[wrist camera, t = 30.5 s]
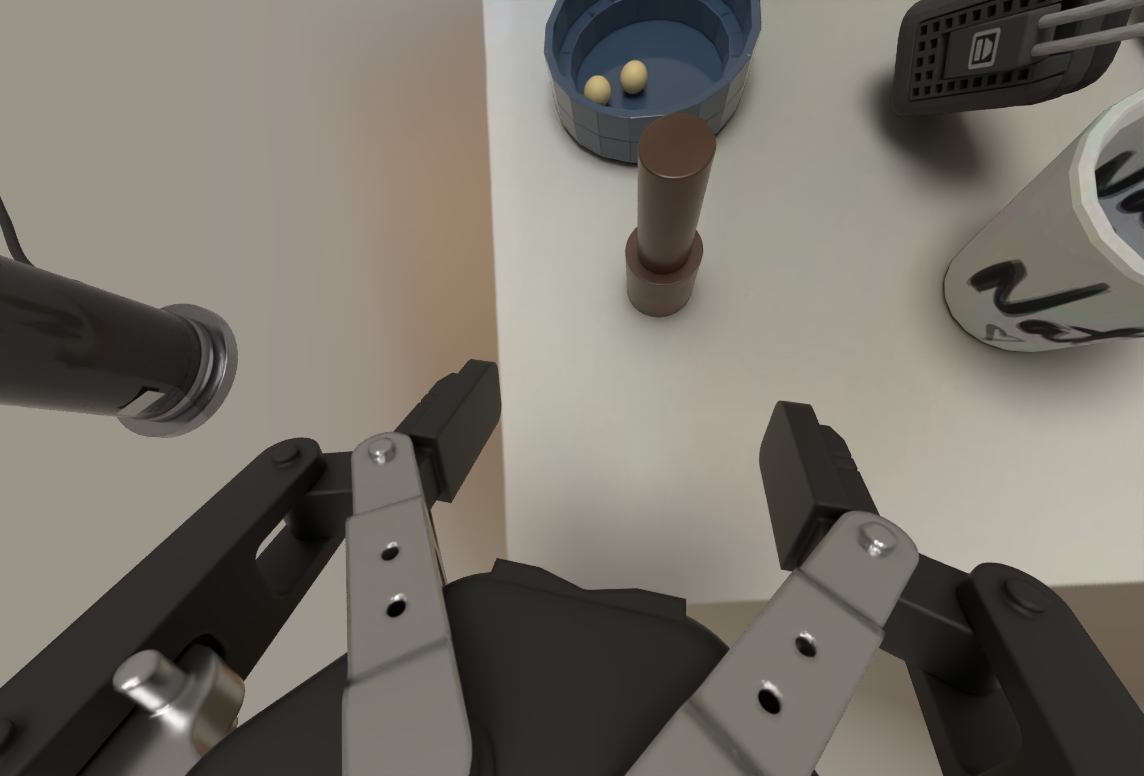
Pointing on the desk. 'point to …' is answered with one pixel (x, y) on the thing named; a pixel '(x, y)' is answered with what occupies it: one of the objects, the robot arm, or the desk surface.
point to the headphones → (1004, 51)
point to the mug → (1063, 248)
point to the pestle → (668, 213)
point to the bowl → (648, 64)
